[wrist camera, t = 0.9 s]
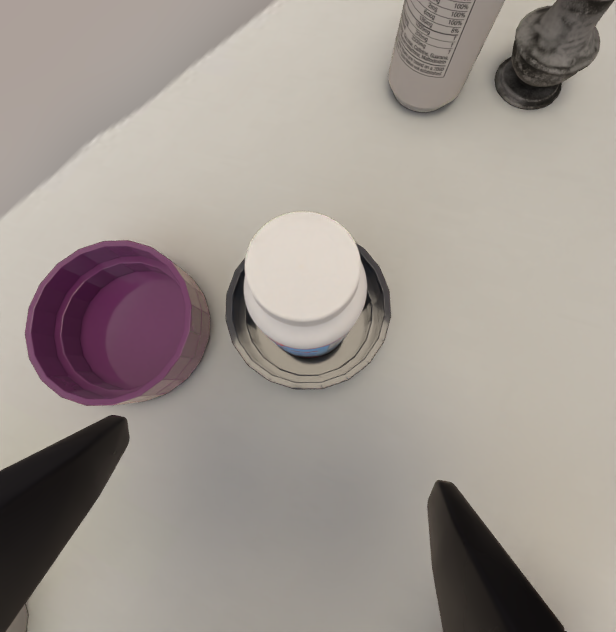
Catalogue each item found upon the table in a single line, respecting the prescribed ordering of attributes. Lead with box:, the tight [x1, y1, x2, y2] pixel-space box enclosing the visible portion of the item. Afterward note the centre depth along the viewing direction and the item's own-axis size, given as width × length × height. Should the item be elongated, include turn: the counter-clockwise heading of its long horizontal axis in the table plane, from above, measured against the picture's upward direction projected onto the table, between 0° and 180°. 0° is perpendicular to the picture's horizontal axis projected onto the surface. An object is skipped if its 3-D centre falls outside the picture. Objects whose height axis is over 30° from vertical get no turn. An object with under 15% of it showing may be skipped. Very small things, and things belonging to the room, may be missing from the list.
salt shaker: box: [495, 0, 614, 110], centre depth 22 cm, size 6×6×12 cm
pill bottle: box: [244, 211, 367, 358], centre depth 19 cm, size 6×6×11 cm
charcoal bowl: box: [226, 243, 391, 389], centre depth 22 cm, size 10×10×4 cm
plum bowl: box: [25, 240, 210, 406], centre depth 23 cm, size 10×10×4 cm
